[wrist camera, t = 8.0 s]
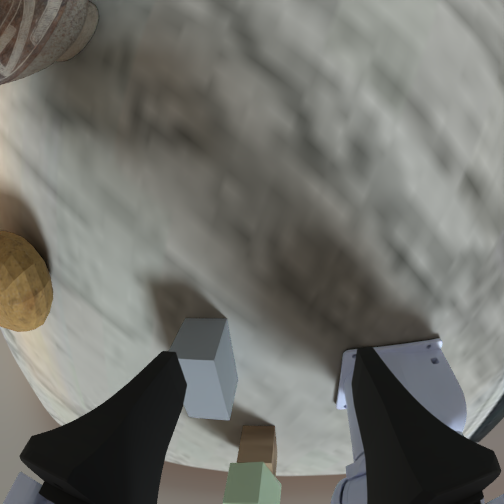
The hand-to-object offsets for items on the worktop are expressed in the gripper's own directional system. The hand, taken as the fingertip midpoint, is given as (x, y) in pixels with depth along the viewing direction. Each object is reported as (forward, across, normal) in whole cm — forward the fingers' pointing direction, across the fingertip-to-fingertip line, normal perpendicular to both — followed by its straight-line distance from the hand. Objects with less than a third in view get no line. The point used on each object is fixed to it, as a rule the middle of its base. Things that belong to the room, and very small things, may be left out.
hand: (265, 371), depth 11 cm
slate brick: (+10, +6, +8) cm, 15 cm away
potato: (+11, +25, -1) cm, 27 cm away
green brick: (+5, +3, +23) cm, 24 cm away
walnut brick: (+10, +3, +23) cm, 26 cm away
